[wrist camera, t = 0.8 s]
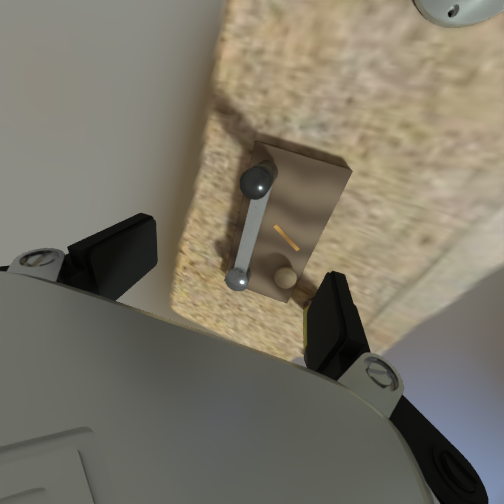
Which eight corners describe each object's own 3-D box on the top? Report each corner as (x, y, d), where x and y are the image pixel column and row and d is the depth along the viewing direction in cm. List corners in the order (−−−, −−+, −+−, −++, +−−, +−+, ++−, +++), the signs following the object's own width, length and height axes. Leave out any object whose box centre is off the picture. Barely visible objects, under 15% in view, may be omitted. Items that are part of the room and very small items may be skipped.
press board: (258, 140, 30) (248, 142, 25) (350, 168, 29) (359, 176, 24) (227, 275, 45) (217, 293, 40) (287, 296, 44) (285, 318, 39)
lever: (248, 284, 41) (234, 321, 33) (228, 277, 42) (209, 312, 34) (287, 163, 28) (278, 175, 20) (257, 153, 29) (237, 163, 21)
